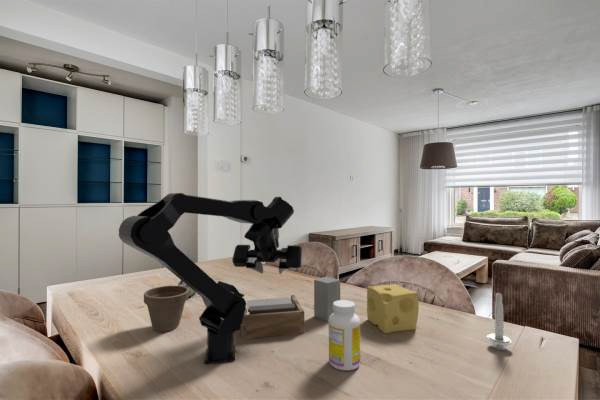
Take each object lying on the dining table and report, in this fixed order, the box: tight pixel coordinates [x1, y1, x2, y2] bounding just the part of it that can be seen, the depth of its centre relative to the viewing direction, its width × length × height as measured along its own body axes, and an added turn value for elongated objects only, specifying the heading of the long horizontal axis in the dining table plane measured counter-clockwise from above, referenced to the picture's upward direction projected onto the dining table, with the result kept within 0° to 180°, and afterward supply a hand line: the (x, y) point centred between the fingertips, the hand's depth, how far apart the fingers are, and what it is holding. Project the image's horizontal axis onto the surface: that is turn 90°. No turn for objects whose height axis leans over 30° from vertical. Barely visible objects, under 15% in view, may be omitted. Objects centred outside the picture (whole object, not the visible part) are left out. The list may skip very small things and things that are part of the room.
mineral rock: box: [177, 279, 196, 297], centre depth 114 cm, size 13×11×10 cm
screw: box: [486, 292, 512, 351], centre depth 73 cm, size 13×5×5 cm
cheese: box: [366, 283, 420, 334], centre depth 87 cm, size 10×11×10 cm
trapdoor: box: [246, 297, 295, 314], centre depth 87 cm, size 12×13×3 cm
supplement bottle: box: [328, 299, 361, 372], centre depth 66 cm, size 7×7×13 cm
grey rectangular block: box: [313, 276, 341, 323], centre depth 92 cm, size 6×6×11 cm
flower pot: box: [143, 285, 190, 333], centre depth 85 cm, size 12×11×10 cm
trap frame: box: [241, 294, 305, 339], centre depth 87 cm, size 14×16×6 cm
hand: (271, 272), depth 91 cm, fingers open, 5 cm apart
